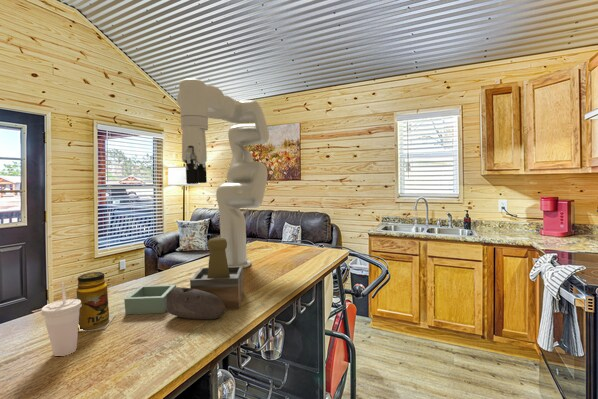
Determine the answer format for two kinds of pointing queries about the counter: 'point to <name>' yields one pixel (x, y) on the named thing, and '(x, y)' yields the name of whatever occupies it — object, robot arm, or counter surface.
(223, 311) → the perforated stone tool
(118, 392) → the counter surface
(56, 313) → the smoothie
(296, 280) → the counter surface
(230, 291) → the gray open box
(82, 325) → the condiment
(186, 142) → the robot arm
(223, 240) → the tan rounded piece
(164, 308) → the shaker holder
